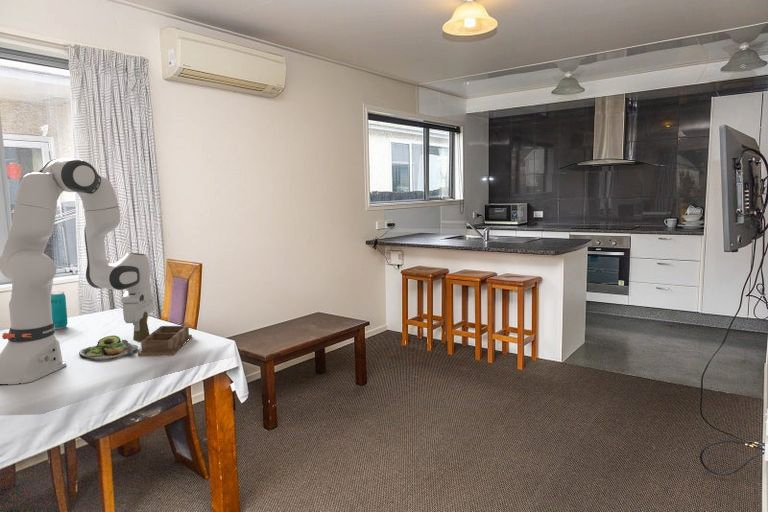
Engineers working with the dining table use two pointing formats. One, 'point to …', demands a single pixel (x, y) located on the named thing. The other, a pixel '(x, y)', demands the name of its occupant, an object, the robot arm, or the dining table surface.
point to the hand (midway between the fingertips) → (141, 328)
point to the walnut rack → (164, 341)
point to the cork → (142, 329)
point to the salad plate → (108, 349)
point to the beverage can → (59, 310)
